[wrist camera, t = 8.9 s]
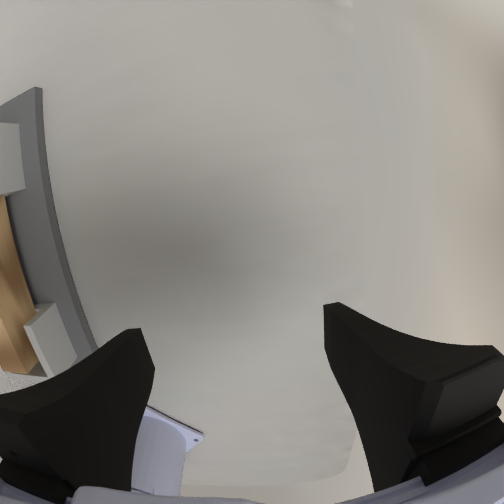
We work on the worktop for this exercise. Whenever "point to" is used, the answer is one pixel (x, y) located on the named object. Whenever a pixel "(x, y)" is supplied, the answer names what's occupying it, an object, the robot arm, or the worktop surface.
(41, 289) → the bracket board
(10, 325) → the rail
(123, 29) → the worktop surface
